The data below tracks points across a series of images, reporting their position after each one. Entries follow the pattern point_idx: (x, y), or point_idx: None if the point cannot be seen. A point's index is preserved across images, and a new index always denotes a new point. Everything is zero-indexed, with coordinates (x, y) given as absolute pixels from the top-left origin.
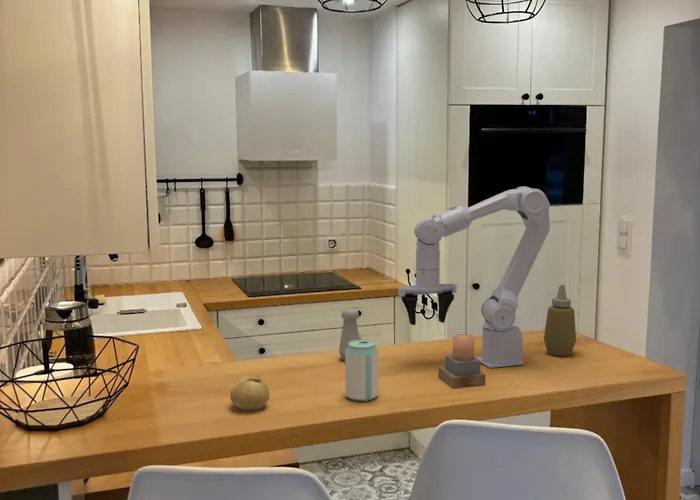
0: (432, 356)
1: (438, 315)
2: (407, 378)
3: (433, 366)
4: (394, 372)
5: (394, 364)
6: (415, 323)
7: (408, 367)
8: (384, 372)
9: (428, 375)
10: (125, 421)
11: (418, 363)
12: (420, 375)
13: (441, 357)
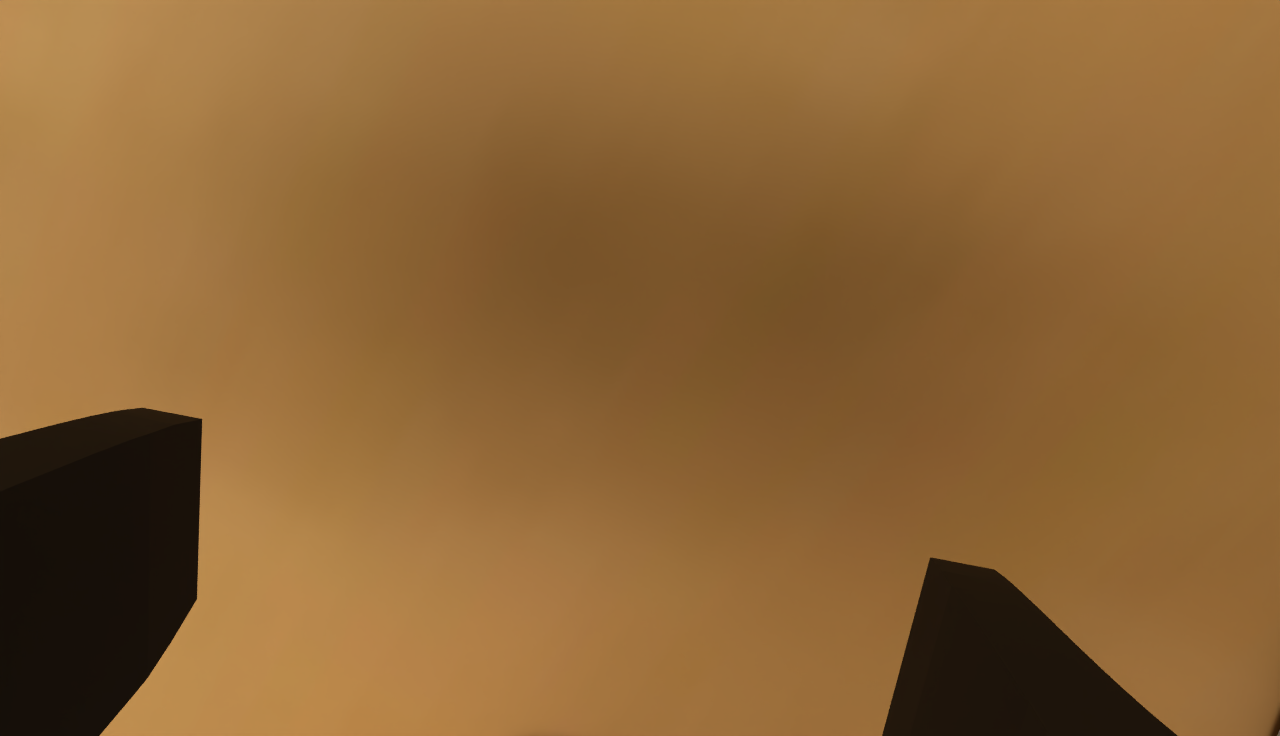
0: (936, 16)
1: (962, 600)
2: (193, 616)
3: (681, 413)
4: (129, 382)
5: (243, 102)
6: (177, 629)
7: (365, 299)
8: (15, 327)
9: (453, 644)
10: None
11: (566, 216)
12: (369, 604)
13: (1027, 125)
